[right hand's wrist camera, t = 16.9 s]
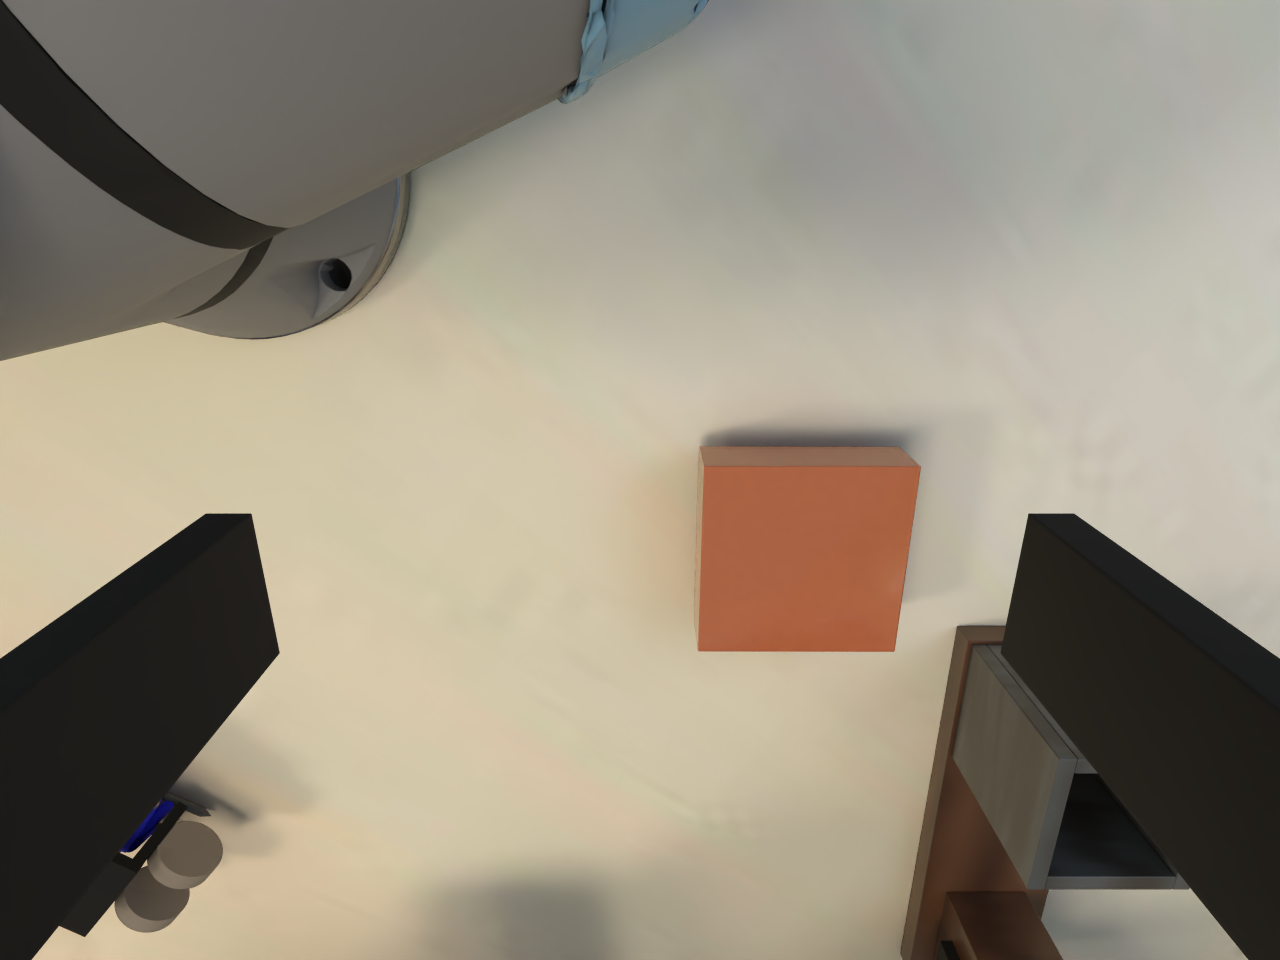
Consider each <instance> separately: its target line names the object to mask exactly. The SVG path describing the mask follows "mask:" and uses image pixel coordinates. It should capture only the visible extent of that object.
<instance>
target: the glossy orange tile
mask: <svg viewBox="0 0 1280 960" xmlns="http://www.w3.org/2000/svg"><path fill="white" fill-rule="evenodd" d="M920 469H921V466H920V465H919V464H917V463H916V462H915V461H914V460H913V459H912V458H911V457H910V456H909V455H908V454H907V453H906V452H904V451H903V450H902V449H901V448H900V447H699V472H698V505H697V538H696V570H695V603H694V624H695V632H696V640H697V648H698V651H811V652H894V651H895V644H896V637H897V630H898V623H899V616H900V609H901V602H902V595H903V588H904V581H905V574H906V567H907V560H908V553H909V546H910V539H911V532H912V525H913V518H914V511H915V504H916V497H917V490H918V483H919V476H920Z"/></svg>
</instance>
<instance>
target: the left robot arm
mask: <svg viewBox="0 0 1280 960" xmlns="http://www.w3.org/2000/svg"><path fill="white" fill-rule="evenodd" d="M936 960H960V958H959V956H958V954H957V951H956V949H955V947H954V944H953V942H952V941H940V944H939V949H938V954H937V959H936Z"/></svg>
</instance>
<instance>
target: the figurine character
mask: <svg viewBox="0 0 1280 960" xmlns="http://www.w3.org/2000/svg"><path fill="white" fill-rule="evenodd" d="M162 799H163V800H164V802H163V803H162V804H161V805H160V806H159V807H158V805H159V804H160V802H161V800H162ZM162 799H161V800H160V801H159V803H158V804H157V805H156V806H155V808H154V809H153V810H152V811H151V813H150V814H149V815H148V816H147V818H146V819H145V820H144V821H143V822H142V824H141V825H140V826H139V827H138V829H137V830H136V831H135V832H134V834H133V835H132V836H131V837H130V839H129V840H128V841H127V842H126V844H125V845H124V846H123V847H122V848H121V850H120V851H119V852H118V853H117V855H116V856H115V857H114V858H113V860H112V861H111V862H110V863H109V865H108V866H107V867H106V868H105V869H104V871H103V872H102V873H101V874H100V876H99V877H98V878H97V879H96V881H95V882H94V883H93V884H92V886H91V887H90V888H89V889H88V890H87V892H86V893H85V894H84V895H83V897H82V898H81V899H80V900H79V902H78V903H77V904H76V905H75V907H74V908H73V909H72V910H71V911H70V913H69V914H68V915H67V916H66V918H65V919H64V920H63V921H62V923H61V924H60V925H59V926H61V927H63V928H65V929H68V930H70V931H72V932H74V933H77V934H79V935H81V936H83V937H85V936H86V935H87V934H88V933H89V931H90V930H91V929H92V928H93V927H94V925H95V924H96V923H97V922H98V920H99V919H100V918H101V917H102V916H103V914H104V913H105V912H106V911H107V909H108V908H109V907H110V906H111V905H112V903H113V902H114V901H115V911H116V914H117V916H118V918H119V920H120V921H121V922H122V923H123V924H124V925H125V926H127V927H128V928H130V929H132V930H135V931H138V932H155V931H158V930H161V929H163V928H165V927H167V926H168V925H169V924H171V923H172V922H173V920H174V919H175V918H176V917H177V916H178V915H179V913H180V912H181V911H182V910H183V909H184V908H185V906H186V904H187V902H188V899H189V893H190V892H189V888H193V887H195V886H198V885H199V884H201V883H202V882H204V881H205V880H206V879H207V877H208V876H209V875H210V874H211V873H212V872H213V870H214V869H215V868H216V867H217V866H218V864H219V863H220V861H221V859H222V854H223V848H222V843H221V841H220V839H219V837H218V836H217V834H216V833H215V832H214V831H213V830H212V829H210V828H209V827H207V826H205V825H203V824H201V823H197V822H191V821H185V822H179V823H176V821H177V820H178V819H179V818H180V816H181V815H182V814H183V813H184V811H185V810H186V811H188V812H190V813H193V814H195V815H198V816H211V815H210V814H209V813H208V811H207V810H206V808H203V807H201V806H199V805H196V804H194V803H192V802H189V801H187V800H185V799H182V798H180V797H177V796H175V795H173V794H165V795H164V797H163V798H162ZM174 806H175V807H174ZM157 807H158V808H157ZM173 807H174V809H173V810H172V811H171V809H172V808H173ZM170 811H171V812H170ZM169 812H170V814H169V815H168V816H167V817H166V818H165V820H164V821H163V822H162V823H159V822H160V821H161V820H162V819H163V818H164V817H165V816H166V815H167V814H168V813H169ZM175 823H176V824H175ZM150 835H152V836H151V837H150V838H149V839H148V841H147V842H146V843H145V844H144V846H143V847H142V848H141V849H140V850H139V852H138V853H137V854H136V855H135V857H134V858H133V859H132V858H130V857H128V856H125V855H123V854H121V853H120V852H121V851H122V852H125V853H126V852H132V851H134V850H135V849H137V848H138V847H139V846H140V845H141V844H142V843H143V842H144V841H145V840H146V839H147V838H148V837H149V836H150ZM146 860H147V864H148V866H145V867H143V868H141V867H142V866H143V864H144V862H145V861H146ZM140 868H141V869H140Z"/></svg>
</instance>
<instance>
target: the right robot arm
mask: <svg viewBox="0 0 1280 960" xmlns="http://www.w3.org/2000/svg"><path fill="white" fill-rule="evenodd" d="M707 2H708V0H0V361H2V360H6V359H10V358H15V357H19V356H23V355H27V354H31V353H35V352H39V351H44V350H48V349H52V348H56V347H60V346H64V345H69V344H73V343H77V342H81V341H85V340H89V339H93V338H98V337H102V336H106V335H110V334H114V333H118V332H122V331H127V330H131V329H135V328H139V327H143V326H147V325H152V324H156V323H160V322H165V323H169V324H172V325H176V326H180V327H183V328H187V329H191V330H194V331H198V332H202V333H206V334H210V335H216V336H221V337H229V338H236V339H269V338H275V337H282V336H287V335H290V334H294V333H298V332H301V331H304V330H307V329H309V328H312V327H315V326H317V325H320V324H323V323H325V322H328V321H330V320H332V319H334V318H336V317H337V316H339V315H341V314H343V313H344V312H346V311H347V310H349V309H350V308H352V307H353V306H354V305H355V304H357V303H358V302H359V301H360V300H361V299H363V298H364V297H365V296H366V295H367V294H368V292H369V291H370V290H371V289H372V288H373V287H374V286H375V285H376V283H377V282H378V281H379V279H380V278H381V277H382V275H383V274H384V272H385V271H386V269H387V267H388V266H389V264H390V262H391V261H392V258H393V256H394V254H395V252H396V250H397V248H398V245H399V242H400V239H401V236H402V233H403V230H404V225H405V221H406V217H407V210H408V203H409V187H410V177H409V172H410V171H412V170H414V169H416V168H418V167H420V166H422V165H424V164H426V163H428V162H430V161H432V160H434V159H436V158H438V157H440V156H442V155H444V154H446V153H448V152H450V151H453V150H455V149H457V148H459V147H461V146H463V145H465V144H467V143H469V142H471V141H473V140H475V139H477V138H479V137H481V136H483V135H485V134H487V133H489V132H491V131H493V130H495V129H497V128H499V127H501V126H503V125H505V124H507V123H509V122H511V121H513V120H515V119H517V118H519V117H521V116H523V115H525V114H527V113H529V112H531V111H533V110H535V109H538V108H540V107H542V106H544V105H546V104H548V103H550V102H552V101H554V100H556V99H558V100H559V101H560V102H561V103H563V104H566V103H568V102H571V101H573V100H576V99H578V98H579V97H581V96H582V95H584V94H585V93H586V92H587V91H588V90H589V88H590V87H591V85H592V84H593V82H594V80H595V79H596V78H597V77H599V76H601V75H603V74H604V73H606V72H608V71H610V70H612V69H613V68H615V67H617V66H619V65H621V64H622V63H624V62H626V61H628V60H630V59H631V58H633V57H635V56H637V55H639V54H640V53H642V52H644V51H646V50H648V49H649V48H651V47H653V46H655V45H657V44H658V43H660V42H662V41H664V40H666V39H667V38H669V37H671V36H673V35H674V34H676V33H677V32H679V31H680V30H682V29H683V28H684V27H686V26H687V25H688V24H689V23H690V22H691V21H692V20H693V19H694V18H695V17H696V16H697V15H698V14H699V13H700V12H701V11H702V9H703V8H704V7H705V6H706V4H707ZM279 653H280V652H279V648H278V643H277V638H276V633H275V628H274V623H273V618H272V613H271V608H270V603H269V598H268V593H267V588H266V583H265V578H264V574H263V569H262V564H261V559H260V554H259V549H258V544H257V539H256V534H255V529H254V524H253V519H252V514H205V515H203V516H202V517H201V518H199V519H198V520H196V521H195V522H193V523H192V524H191V525H189V526H188V527H186V528H185V529H184V530H182V531H181V532H179V533H178V534H176V535H175V536H174V537H172V538H171V539H169V540H168V541H167V542H165V543H164V544H162V545H161V546H159V547H158V548H157V549H155V550H154V551H152V552H151V553H150V554H148V555H147V556H145V557H144V558H142V559H141V560H140V561H138V562H137V563H135V564H134V565H132V566H131V567H130V568H128V569H127V570H125V571H124V572H123V573H121V574H120V575H118V576H117V577H115V578H114V579H113V580H111V581H110V582H108V583H107V584H106V585H104V586H103V587H101V588H100V589H98V590H97V591H96V592H94V593H93V594H91V595H90V596H89V597H87V598H86V599H84V600H83V601H81V602H80V603H79V604H77V605H76V606H74V607H73V608H72V609H70V610H69V611H67V612H66V613H64V614H63V615H62V616H60V617H59V618H57V619H56V620H54V621H53V622H52V623H50V624H49V625H47V626H46V627H45V628H43V629H42V630H40V631H39V632H37V633H36V634H35V635H33V636H32V637H30V638H29V639H28V640H26V641H25V642H23V643H22V644H20V645H19V646H18V647H16V648H15V649H13V650H12V651H11V652H9V653H8V654H6V655H5V656H3V657H2V658H1V659H0V960H32V958H33V957H34V956H35V955H36V953H37V952H38V951H39V950H40V949H41V947H42V946H43V945H44V944H45V942H46V941H47V940H48V939H49V937H50V936H51V935H52V934H53V932H54V931H55V930H56V929H57V928H58V926H59V925H60V924H61V923H62V921H63V920H64V919H65V918H66V916H67V915H68V914H69V913H70V911H71V910H72V909H73V908H74V907H75V905H76V904H77V903H78V902H79V900H80V899H81V898H82V897H83V895H84V894H85V893H86V892H87V890H88V889H89V888H90V887H91V886H92V884H93V883H94V882H95V881H96V879H97V878H98V877H99V876H100V874H101V873H102V872H103V871H104V869H105V868H106V867H107V866H108V865H109V863H110V862H111V861H112V860H113V858H114V857H115V856H116V855H117V853H118V852H119V851H120V850H121V848H122V847H123V846H124V845H125V844H126V842H127V841H128V840H129V839H130V837H131V836H132V835H133V834H134V832H135V831H136V830H137V829H138V827H139V826H140V825H141V824H142V822H143V821H144V820H145V819H146V818H147V816H148V815H149V814H150V813H151V811H152V810H153V809H154V808H155V806H156V805H157V804H158V803H159V801H160V800H161V799H162V798H163V797H164V795H165V794H166V793H167V792H168V790H169V789H170V788H171V787H172V785H173V784H174V783H175V782H176V780H177V779H178V778H179V777H180V776H181V774H182V773H183V772H184V771H185V769H186V768H187V767H188V766H189V764H190V763H191V762H192V761H193V759H194V758H195V757H196V756H197V755H198V753H199V752H200V751H201V750H202V748H203V747H204V746H205V745H206V743H207V742H208V741H209V740H210V738H211V737H212V736H213V735H214V734H215V732H216V731H217V730H218V729H219V727H220V726H221V725H222V724H223V722H224V721H225V720H226V719H227V717H228V716H229V715H230V714H231V713H232V711H233V710H234V709H235V708H236V706H237V705H238V704H239V703H240V701H241V700H242V699H243V698H244V696H245V695H246V694H247V693H248V691H249V690H250V689H251V688H252V687H253V685H254V684H255V683H256V682H257V680H258V679H259V678H260V677H261V675H262V674H263V673H264V672H265V670H266V669H267V668H268V667H269V666H270V664H271V663H272V662H273V661H274V659H275V658H276V657H277V656H278V654H279ZM1000 653H1001V654H1002V656H1003V657H1004V658H1005V659H1006V661H1007V662H1008V663H1009V664H1010V666H1011V667H1012V668H1013V669H1014V670H1015V672H1016V673H1017V674H1018V675H1019V677H1020V678H1021V679H1022V680H1023V682H1024V683H1025V684H1026V685H1027V687H1028V688H1029V689H1030V690H1031V692H1032V693H1033V694H1034V695H1035V696H1036V698H1037V699H1038V700H1039V701H1040V703H1041V704H1042V705H1043V706H1044V708H1045V709H1046V710H1047V711H1048V713H1049V714H1050V715H1051V716H1052V717H1053V719H1054V720H1055V721H1056V722H1057V724H1058V725H1059V726H1060V727H1061V729H1062V730H1063V731H1064V732H1065V734H1066V735H1067V736H1068V737H1069V738H1070V740H1071V741H1072V742H1073V743H1074V745H1075V746H1076V747H1077V748H1078V750H1079V751H1080V752H1081V753H1082V755H1083V756H1084V757H1085V758H1086V759H1087V761H1088V762H1089V763H1090V764H1091V766H1092V767H1093V768H1094V769H1095V771H1096V772H1097V773H1098V774H1099V776H1100V777H1101V778H1102V779H1103V780H1104V782H1105V783H1106V784H1107V785H1108V787H1109V788H1110V789H1111V790H1112V792H1113V793H1114V794H1115V795H1116V797H1117V798H1118V799H1119V800H1120V801H1121V803H1122V804H1123V805H1124V806H1125V808H1126V809H1127V810H1128V811H1129V813H1130V814H1131V815H1132V816H1133V818H1134V819H1135V820H1136V821H1137V822H1138V824H1139V825H1140V826H1141V827H1142V829H1143V830H1144V831H1145V832H1146V834H1147V835H1148V836H1149V837H1150V839H1151V840H1152V841H1153V842H1154V844H1155V845H1156V846H1157V847H1158V848H1159V850H1160V851H1161V852H1162V853H1163V855H1164V856H1165V857H1166V858H1167V860H1168V861H1169V862H1170V863H1171V865H1172V866H1173V867H1174V868H1175V869H1176V871H1177V872H1178V873H1179V874H1180V876H1181V877H1182V878H1183V879H1184V881H1185V882H1186V883H1187V884H1188V886H1189V887H1190V888H1191V889H1192V890H1193V892H1194V893H1195V894H1196V895H1197V897H1198V898H1199V899H1200V900H1201V902H1202V903H1203V904H1204V905H1205V907H1206V908H1207V909H1208V910H1209V911H1210V913H1211V914H1212V915H1213V916H1214V918H1215V919H1216V920H1217V921H1218V923H1219V924H1220V925H1221V926H1222V928H1223V929H1224V930H1225V931H1226V932H1227V934H1228V935H1229V936H1230V937H1231V939H1232V940H1233V941H1234V942H1235V944H1236V945H1237V946H1238V947H1239V949H1240V950H1241V951H1242V952H1243V953H1244V955H1245V956H1246V957H1247V958H1248V960H1280V659H1279V658H1278V657H1277V656H1275V655H1274V654H1272V653H1271V652H1269V651H1268V650H1267V649H1265V648H1264V647H1262V646H1261V645H1260V644H1258V643H1257V642H1255V641H1254V640H1252V639H1251V638H1250V637H1248V636H1247V635H1245V634H1244V633H1243V632H1241V631H1240V630H1238V629H1237V628H1235V627H1234V626H1233V625H1231V624H1230V623H1228V622H1227V621H1226V620H1224V619H1223V618H1221V617H1220V616H1218V615H1217V614H1216V613H1214V612H1213V611H1211V610H1210V609H1208V608H1207V607H1206V606H1204V605H1203V604H1201V603H1200V602H1199V601H1197V600H1196V599H1194V598H1193V597H1191V596H1190V595H1189V594H1187V593H1186V592H1184V591H1183V590H1182V589H1180V588H1179V587H1177V586H1176V585H1174V584H1173V583H1172V582H1170V581H1169V580H1167V579H1166V578H1165V577H1163V576H1162V575H1160V574H1159V573H1157V572H1156V571H1155V570H1153V569H1152V568H1150V567H1149V566H1148V565H1146V564H1145V563H1143V562H1142V561H1140V560H1139V559H1138V558H1136V557H1135V556H1133V555H1132V554H1130V553H1129V552H1128V551H1126V550H1125V549H1123V548H1122V547H1121V546H1119V545H1118V544H1116V543H1115V542H1113V541H1112V540H1111V539H1109V538H1108V537H1106V536H1105V535H1104V534H1102V533H1101V532H1099V531H1098V530H1096V529H1095V528H1094V527H1092V526H1091V525H1089V524H1088V523H1087V522H1085V521H1084V520H1082V519H1081V518H1079V517H1078V516H1077V515H1075V514H1028V519H1027V524H1026V529H1025V534H1024V539H1023V544H1022V549H1021V554H1020V559H1019V564H1018V569H1017V573H1016V578H1015V583H1014V588H1013V593H1012V598H1011V603H1010V608H1009V613H1008V618H1007V623H1006V628H1005V633H1004V638H1003V643H1002V647H1001V652H1000Z"/></svg>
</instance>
